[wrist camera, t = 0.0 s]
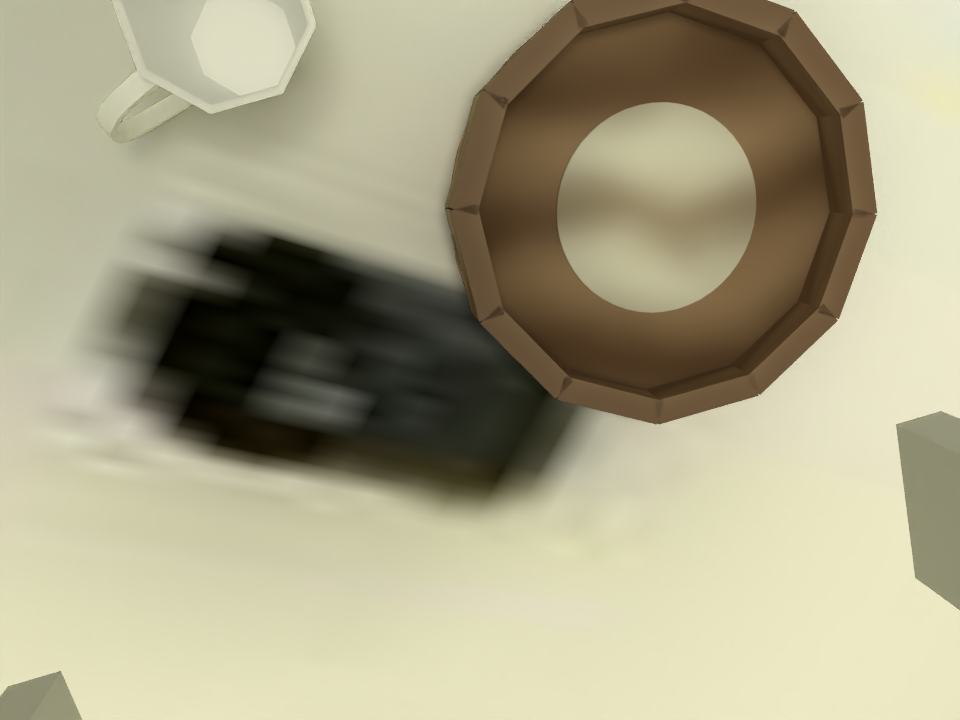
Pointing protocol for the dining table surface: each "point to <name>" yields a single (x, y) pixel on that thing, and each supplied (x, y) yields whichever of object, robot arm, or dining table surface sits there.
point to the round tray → (662, 202)
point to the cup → (204, 56)
